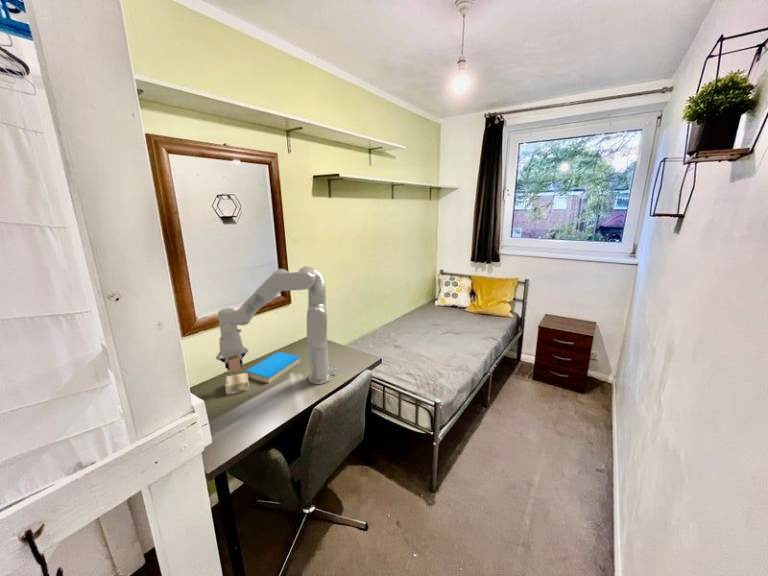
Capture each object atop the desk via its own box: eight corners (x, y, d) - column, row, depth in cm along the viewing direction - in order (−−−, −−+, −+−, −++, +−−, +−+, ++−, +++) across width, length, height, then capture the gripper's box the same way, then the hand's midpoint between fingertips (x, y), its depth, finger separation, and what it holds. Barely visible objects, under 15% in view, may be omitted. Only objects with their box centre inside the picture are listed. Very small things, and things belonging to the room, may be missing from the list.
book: (300, 356, 187) (269, 377, 165) (300, 363, 188) (269, 384, 166) (277, 351, 194) (244, 370, 172) (277, 357, 195) (245, 377, 173)
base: (248, 380, 169) (247, 372, 168) (248, 390, 161) (247, 382, 159) (227, 385, 166) (226, 376, 165) (226, 395, 157) (225, 386, 156)
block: (238, 365, 164) (237, 354, 162) (240, 369, 160) (239, 358, 158) (228, 367, 161) (226, 357, 159) (230, 372, 157) (228, 361, 155)
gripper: (246, 327, 163) (250, 360, 168) (209, 335, 154) (214, 369, 159) (249, 332, 157) (254, 366, 162) (210, 340, 148) (216, 376, 153)
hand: (234, 367), depth 160 cm, fingers closed on block, 5 cm apart
